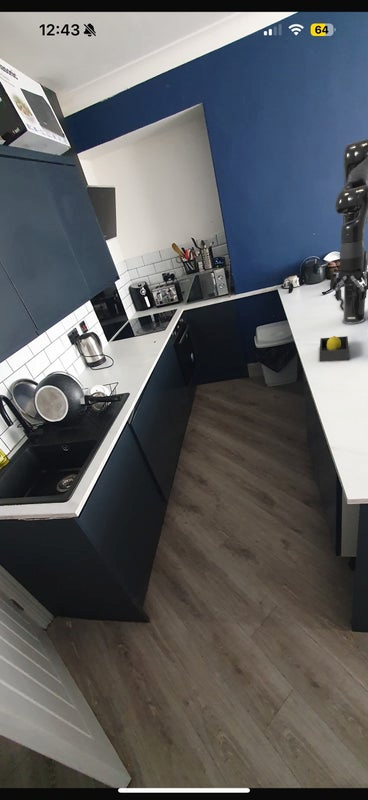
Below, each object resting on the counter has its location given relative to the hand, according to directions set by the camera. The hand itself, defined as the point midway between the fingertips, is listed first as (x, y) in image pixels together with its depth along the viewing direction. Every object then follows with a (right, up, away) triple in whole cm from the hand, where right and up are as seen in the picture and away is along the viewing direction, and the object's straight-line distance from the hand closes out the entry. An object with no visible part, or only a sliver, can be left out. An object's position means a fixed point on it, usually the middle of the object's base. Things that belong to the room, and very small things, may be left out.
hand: (350, 300), depth 117 cm
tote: (+3, -17, +19) cm, 26 cm away
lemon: (+3, -17, +19) cm, 26 cm away
